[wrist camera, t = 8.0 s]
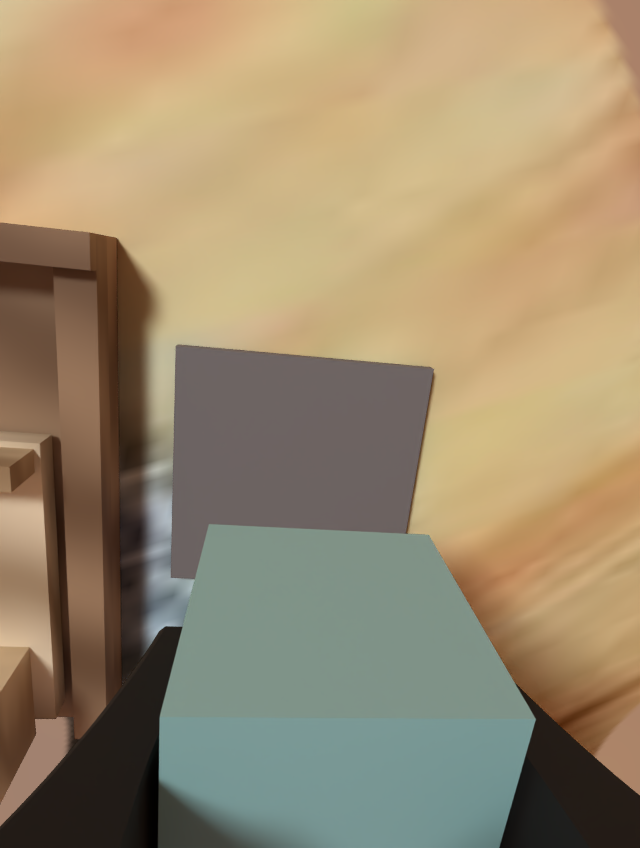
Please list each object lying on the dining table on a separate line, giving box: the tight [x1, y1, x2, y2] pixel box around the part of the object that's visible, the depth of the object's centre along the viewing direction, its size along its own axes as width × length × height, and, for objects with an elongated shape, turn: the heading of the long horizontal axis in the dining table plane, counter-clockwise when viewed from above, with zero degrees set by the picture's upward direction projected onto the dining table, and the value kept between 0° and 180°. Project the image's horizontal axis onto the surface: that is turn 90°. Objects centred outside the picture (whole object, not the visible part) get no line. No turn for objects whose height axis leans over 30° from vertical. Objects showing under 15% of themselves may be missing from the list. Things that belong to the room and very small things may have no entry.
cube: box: [158, 524, 536, 848], centre depth 9 cm, size 4×4×4 cm
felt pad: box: [171, 345, 434, 579], centre depth 19 cm, size 9×9×1 cm
